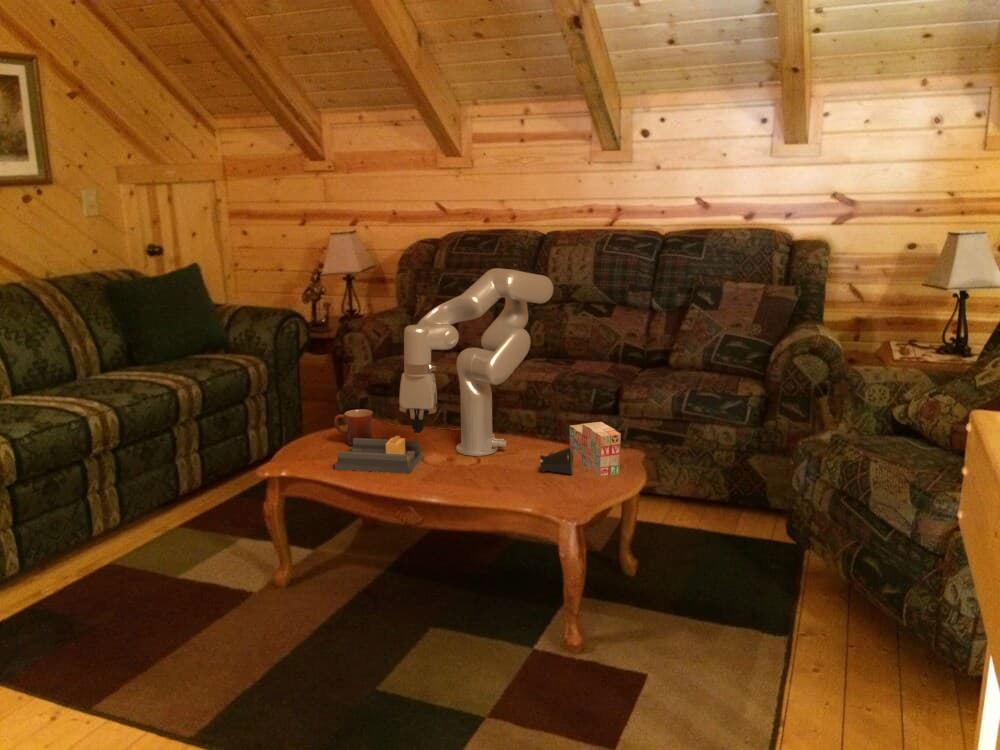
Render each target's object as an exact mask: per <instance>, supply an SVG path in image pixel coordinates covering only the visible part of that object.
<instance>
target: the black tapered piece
mask: <svg viewBox="0 0 1000 750" xmlns="http://www.w3.org/2000/svg"><path fill="white" fill-rule="evenodd" d="M539 460H540V463H539V464H540V468H541V473H545V472H553V473H557V474H565V475H573V474H574V469H575V468H574V467H575V466H574V457H573V456H572V452H571V449H570V447H566V448H564V449H561V450H559V451H556V450H552V451H550V452H549V453H548V455H546V456H545V455H543V454H541V455H540V457H539Z"/></svg>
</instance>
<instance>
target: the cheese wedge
mask: <svg viewBox="0 0 1000 750" xmlns="http://www.w3.org/2000/svg"><path fill="white" fill-rule="evenodd" d="M388 440H389V441H388V442H387V443H386V454H403V455H406V454H405V440H406V438H405V437H404V438H403V437H401V436H400V435H395V436H394V437H391V438H390V439H388Z"/></svg>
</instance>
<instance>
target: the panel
mask: <svg viewBox="0 0 1000 750" xmlns="http://www.w3.org/2000/svg"><path fill="white" fill-rule="evenodd" d="M347 452H362V453H383V454H386V450H385V449H364V448H353V447H351V448H350V449H349V450H348V451H347ZM405 454H406V455H407V466H406V467H390V466H370V465H351V464H338V460H337V461H336V462H335V463H334V470H335V471H347V470H359V471H358V472H366V471H374V472H373V473H385V472H390V473H389V474H404V473H406V474H407V475H408V474H409V475H410V474H411V473H412V472H413V471H414V470H415V468H416V467H415V466H417V465H418V464H419V463H420V462H421V461H422V460H423V451H419V452H418V453H415V451H406V450H405ZM420 460H421V461H420ZM419 461H420V462H419ZM376 471H377V472H376Z"/></svg>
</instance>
